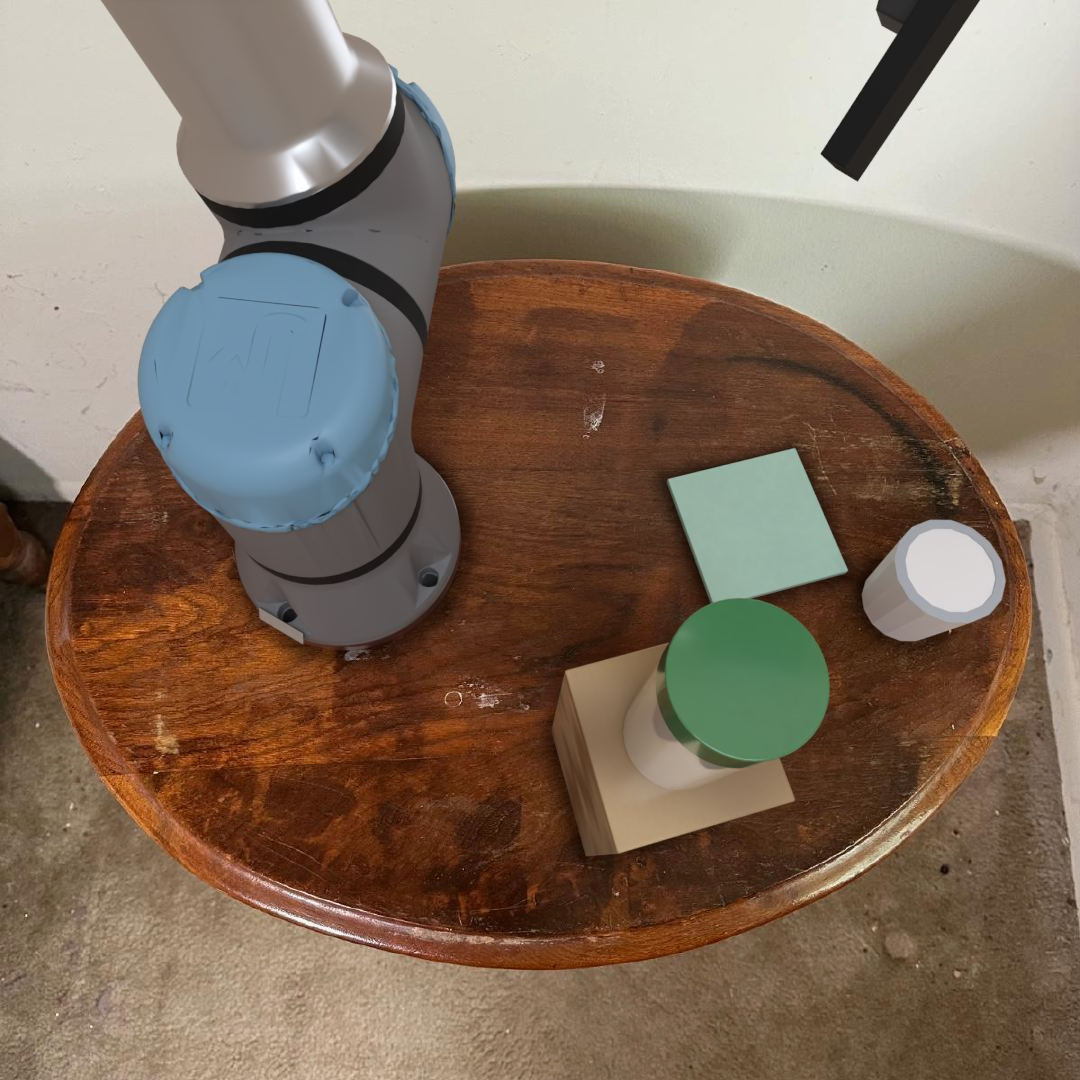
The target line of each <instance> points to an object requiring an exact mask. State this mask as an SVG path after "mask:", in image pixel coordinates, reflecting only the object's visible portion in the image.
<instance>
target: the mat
mask: <svg viewBox="0 0 1080 1080" xmlns="http://www.w3.org/2000/svg"><path fill="white" fill-rule="evenodd" d="M666 485H667V488H668V490H669V494H670V496H671V499H672V501H673V505H674V507H675V510H676V512H677V515H678V519H679V520H680V523H681V526H682V529H683V532H684V535H685V537H686V541H687V543H688V545H689V548H690V551H691V554H692V557H693V559H694V562H695V565H696V568H697V571H698V573H699V576H700V579H701V582H702V584H703V587H704V589H705V592H706V596H707V597H708V600H709V604H711V603H714V602H716V601H720V600H725V599H731V598H747V599H755V598H759V597H762V596H766V595H770V594H774V593H776V592H777V593H778V592H781V591H785V590H789V589H792V588H797V587H800V586H803V585H807V584H812V583H816V582H819V581H823V580H826V579H830V578H835V577H837V576H842V575H845V574H846V573H848V572H849V569H848V567H847V565H846V562H845V560H844V558H843V556H842V553H841V551H840V548H839V546H838V543H837V541H836V538H835V537H834V534H833V533H832V530H831V528H830V525H829V523H828V520H827V518H826V516H825V515H824V514H825V513H824V511H823V509H822V506H821V504H820V503H819V500H818V498H817V495H816V494H815V491H814V488H813V486H812V483H811V481H810V478H809V477H808V474H807V472H806V470H805V468H804V464H803V463H802V461H801V458H800V456H799V454H798V451H797V449H796V447H793V448H790V449H785V450H782V451H777V452H772V453H769V454H765V455H760V456H757V457H753V458H749V459H744V460H741V461H736V462H732V463H729V464H724V465H720V466H715V467H712V468H708V469H704V470H699V471H696V472H691V473H686V474H683V475H679V476H674V477H670V478H667V480H666Z"/></svg>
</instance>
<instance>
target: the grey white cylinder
mask: <svg viewBox="0 0 1080 1080" xmlns="http://www.w3.org/2000/svg"><path fill="white" fill-rule="evenodd" d="M1002 561H1003V560H1002V559H1001V558H1000V556H999V553H998V552H997V551H996V550H995V547H994V546H993V545H992V543H991V542H990V541H989V540H988V539H986V538H985V537H984V536H983V535H982V534H981V533H979V532H978V531H976V529H974V528H973V527H972V526H969V525H966V524H963V523H961V522H958V521H955V520H952V519H929V520H926V521H923V522H921V523H918V524H916V525H914V526H913V525H912V526H911V527H910V529H908V530H907V532H906V533H905V534H904V535H903V536H902V537H901V539H900V540H898V542H897V543H896V544H895V545H894V546H893V548H892V549H891V550H890V551H889V552H888V554H887V555H886V556H885V557H884V558H883V559H882V561H880V563H879V564H878V565H877V567H876V568H874V570H873V571H872V573H871V574H869V576H868V577H867V579H865V582H864V585H863V589H862V592H861V598H862V606H863V607H862V608H863V611H864V613H865V614H866V616H867V617H868V619H869V621H870V623H871V625H873V626H874V627H875V629H877V630H878V631H879V632H881V633H882V634H883V635H885V636H886V637H889V638H892V639H894V640H897V641H899V642H918V641H921V640H924V639H926V638H930V637H934V636H936V635H939V634H942V633H944V632H948V631H950V630H953V629H957V628H959V627H962V626H965V625H968V624H971V623H973V622H976V621H978V620H980V619H984V618H985V617H987V616H990V615H991V613H992V612H993V611H995V609H996V607H997V606H998V605H999V604H1000V603H1001V602H1002V600H1003V596H1004V592H1005V591H1004V590H1005V587H1006V582H1007V580H1006V575H1005V570H1004V566H1003V562H1002Z"/></svg>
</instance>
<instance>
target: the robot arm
mask: <svg viewBox="0 0 1080 1080" xmlns="http://www.w3.org/2000/svg"><path fill="white" fill-rule="evenodd" d="M980 1H981V0H878V1H877V3H876V6H875V7H876V8H875V12H876V14H877V17H878V20H879V22H880V23H879V24H880V25H881V27H883V28H885V29H886V30H888V31H890V32H892V33H894V34H896V35H895V36H894V38H893V40H892V41H891V43H890V44H889V46H888V48H887V49H886V51H885V52H884V54H883V56H881V58H880V60H879V62H878V63H877V64H876V66H875V68H874V70H873V71H872V72H871V74H870V75H869V77H868V78H867V80H866V81H865V84H864V85H863V86H862V88H861V90H860V91H859V93H858V94H857V96H856V97H855V99H854V101H853V102H852V104H851V105H850V107H849V109H848V110H847V112H846V113H845V115H844V116H843V117H842V118H841V121H840V122H839V124H838V126H837V127H836V128H835V130H834V132H833V133H832V135H831V136H830V138H829V139H828V141H827V143H826V144H825V145H824V147H823V149H822V151H821V152H820V155H821V157H823V158H824V159H825V160H826V161H827V162H828V163H829V164H830V165H831V166H832V167H833V168H834V169H836V170H837V171H839V172H840V173H842V174H843V175H845V176H847V177H849V178H850V179H852V180H854V181H855V182H857V183H858V182H859V181H860V179H861V177H863V176H864V173H865V171H867V169H868V167H869V166H870V164H871V163H872V161H873V160H874V158H875V157H876V155H877V154H878V152H879V151H880V149H881V148H882V147H883V145H884V143H885V142H886V141H887V139H888V138H889V136H890V135H891V133H892V131H893V130H894V129H895V127H896V126H897V124H898V123H899V121H900V120H901V118H902V117H903V115H904V114H905V112H906V111H907V110H908V108H909V107H910V105H911V104H912V102H913V101H914V99H915V98H916V96H917V95H918V94H919V91H920V90H921V89H922V87H923V86H924V84H925V83H926V82H927V80H928V78H929V77H930V75H931V74H932V73H933V71H934V70H935V68H936V66H937V65H938V64H939V62H940V61H941V59H942V57H943V56H944V54H945V53H946V52H947V51H948V49H949V47H950V45H951V44H952V43H953V41H954V40H955V38H956V37H957V35H958V34H959V32H960V31H961V29H962V28H963V27H964V25H965V24H966V22H967V21H968V19H969V17H970V16H971V15H972V13H973V12H974V10H975V9H976V7H977V6H978V4H979V3H980ZM100 2H101V3H102V4H103V6H104V7H105V9H106V10H107V12H108V13H109V15H110V16H111V17H112V19H113V20H114V22H115V23H116V25H117V26H118V28H119V29H120V30H121V32H122V33H123V34H124V36H125V38H126V39H127V41H128V42H129V43H130V45H131V46H132V48H133V49H134V50H135V52H136V54H137V55H138V57H139V58H140V59H141V61H142V62H143V64H144V65H145V67H146V68H147V69H148V71H149V72H150V74H151V75H152V77H153V78H154V79H155V81H156V82H157V84H158V86H159V87H160V89H161V90H162V91H163V92H164V94H165V96H166V97H167V98H168V101H169V102H170V103H171V104H172V106H173V107H174V109H175V110H176V112H177V113H178V115H179V116H180V117H181V120H180V122H179V127H178V130H177V133H176V142H175V143H176V145H175V146H176V147H175V149H176V156H177V161H178V166H179V167H180V169H181V171H182V173H183V175H184V177H185V178H186V180H187V181H188V183H189V185H191V187H192V188H193V189H194V191H195V192H196V193H197V194H198V196H199V197H200V198H201V200H202V201H203V203H204V205H206V207H207V209H208V210H209V211H210V212H211V214H212V215H213V217H214V218H215V219H216V220H217V222H218V224H219V225H220V227H221V229H222V233H223V243H222V247H221V251H220V254H219V257H218V260H217V262H216V263H214V264H212V265H210V266H209V267H207V268H205V269H204V270H201V272H200V273H199V277H200V281H201V282H199V283H198V284H197V285H195V286H193V287H192V288H188V287H185V286H180V287H178V289H176V290H175V291H174V292H173V293H172V295H170V296H169V297H168V298H167V300H166V301H165V303H163V305H162V306H161V308H160V310H158V312H157V314H156V316H154V319H153V321H152V322H151V323H150V326H149V328H148V331H147V333H146V335H145V338H144V341H143V344H142V347H141V351H140V355H139V361H138V365H137V366H138V368H137V393H138V394H137V395H138V402H139V407H140V411H141V415H142V418H143V422H144V424H145V426H146V427H145V428H146V430H147V432H148V433H149V435H150V437H151V440H152V441H153V443H154V445H155V446H156V448H157V450H158V451H159V452H160V454H161V458H162V459H163V462H165V465H167V468H168V469H170V472H171V474H172V477H173V478H174V479H175V481H176V482H177V483H178V484H179V485H180V487H181V488H182V489H183V490H184V491H185V492H186V494H187V495H189V497H190V498H191V499H192V500H193V501H194V502H195V503H196V504H197V505H198V506H200V507H201V508H202V509H204V510H206V511H207V512H209V513H210V515H212V516H213V517H214V518H215V519H216V521H217V522H218V523H219V524H220V525H221V526H222V528H223V529H224V530H225V531H226V532H227V533H228V534H229V536H231V538H232V539H233V540H234V555H235V563H236V568H237V572H238V575H239V579H240V582H241V584H242V586H243V588H244V591H245V593H246V594H247V596H248V599H249V600H250V602H251V603H252V604H253V605H254V606H255V608H256V609H257V610H258V614H259V615H258V617H259V620H261V621H262V622H265V624H268V625H269V626H271V627H273V628H275V629H276V630H278V631H280V632H281V633H283V634H285V635H286V636H288V637H289V638H292V639H293V640H294V641H296V642H298V643H299V644H302V645H304V644H305V645H308V646H311V647H315V648H318V649H324V650H331V651H356V650H365V649H369V648H374V647H377V646H381V645H385V644H387V643H389V642H391V641H394V640H396V639H398V638H400V637H402V636H404V635H406V634H407V633H409V632H410V631H412V630H414V629H415V628H416V627H417V626H419V625H420V624H422V623H423V622H424V621H425V620H426V619H427V618H428V617H429V616H430V615H431V614H433V612H434V611H435V610H436V609H437V607H438V606H439V605H440V604H441V603H442V601H443V600H444V598H445V597H446V595H447V594H448V592H449V590H450V589H451V586H452V584H453V582H454V579H455V578H456V575H457V572H458V568H459V565H460V560H461V554H462V529H461V523H460V518H459V512H458V508H457V506H456V502H455V499H454V497H453V495H452V493H451V491H450V489H449V487H448V485H447V484H446V482H445V481H444V480H443V478H442V477H441V475H440V474H439V472H437V471H436V470H435V468H434V467H433V466H432V465H431V464H430V463H429V462H427V460H425V459H424V458H423V457H422V456H420V455H419V454H417V453H416V451H415V447H414V443H413V440H412V425H413V423H412V422H413V416H414V415H413V414H414V409H415V403H416V398H417V393H418V388H419V381H420V376H421V370H422V365H423V360H424V355H425V354H424V353H425V349H426V343H427V340H428V333H429V328H430V323H431V318H432V314H433V308H434V302H435V299H436V297H435V296H436V293H437V287H438V283H439V277H440V271H441V266H442V261H443V256H444V250H445V245H446V241H447V239H448V236H449V233H450V229H451V227H452V223H453V220H454V216H455V209H456V202H455V199H456V198H457V187H456V186H457V185H456V173H457V172H456V171H457V170H456V156H455V151H454V146H453V142H452V139H451V136H450V133H449V130H448V126H447V125H446V122H445V121H444V118H443V117H442V115H441V113H440V112H439V110H438V109H437V107H436V106H435V105H436V104H434V103H433V101H432V99H431V98H430V97H429V96H428V95H427V94H426V92H425V91H424V90H423V89H422V87H421V86H419V85H418V84H417V83H416V82H414V81H412V82H411V81H410V82H409V83H406V82H405V81H403V80H402V79H401V78H400V77H399V70H398V68H396V67H394V66H393V65H392V64H390V63H389V62H388V61H387V59H386V58H385V56H384V54H382V52H381V51H380V50H379V49H378V48H377V47H376V46H374V45H373V44H372V43H370V42H369V41H367V40H365V39H363V38H361V37H359V36H356V35H354V34H350V33H347V32H344V31H342V29H341V26H340V25H339V22H338V19H337V17H336V15H335V13H334V10H333V8H332V6H331V4H330V1H329V0H100Z"/></svg>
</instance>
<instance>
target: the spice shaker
mask: <svg viewBox="0 0 1080 1080" xmlns="http://www.w3.org/2000/svg"><path fill="white" fill-rule="evenodd" d="M667 643H668V645H667V647H666V648H665V650H664V651H663V654H662V656H661V658H660V661H659V663H658V665H657V666H656V667H655V669H654V670H653V672H652V673H651V675H650V676H649V678H648V679H647V680H646V682H645V683H644V685H643V686H642V688H641V689H640V691H639V692H638V693H637V695H636V696H635V698H634V699H633V701H632V702H631V704H630V706H629V708H628V710H627V712H626V715H625V719H624V725H623V737H624V744H625V748H626V751H627V753H628V756H629V758H630V760H631V762H632V763H633V765H634V766H635V767H636V769H637V770H638V771H639V772H640V773H641V774H642V775H643V776H644V777H645V778H646V779H648V780H649V781H651V782H652V783H654V784H656V785H658V786H660V787H663V788H666V789H670V790H677V791H685V790H692V789H697V788H699V787H702V786H704V785H707V784H709V783H712V782H714V781H717V780H719V779H721V778H724V777H726V776H729V775H731V774H733V773H736V772H738V771H741V770H743V769H746V768H752V767H756V766H761V765H763V764H766V763H769V762H771V761H774V760H776V759H779V758H780V759H781V758H784V757H786V756H789V755H790V754H792V753H794V752H796V751H798V750H799V749H800V748H802V747H803V746H804V745H805V744H806V743H808V741H809V740H810V739H812V737H813V736H814V735H815V734H816V732H817V730H818V729H819V728H820V726H821V724H822V722H823V720H824V718H825V715H826V713H827V710H828V706H829V700H830V692H831V691H830V689H831V684H830V683H831V682H830V675H829V669H828V665H827V663H826V659H825V656H824V654H823V652H822V650H821V647H820V645H819V643H817V640H816V639H815V637H814V635H812V634H811V633H810V631H809V630H808V628H807V627H806V626H805V625H804V624H802V623H801V621H799V620H798V619H797V618H796V617H794V616H793V615H792V614H790V613H789V612H788V611H786V610H784V609H783V608H781V607H779V606H776V605H774V604H772V603H769V602H765V601H763V600H759V599H755V598H751V599H747V598H731V599H725V600H720V601H716V602H714V603H709V604H706V605H704V606H702V607H700V608H699V609H697V610H696V611H694V612H693V613H691V614H690V615H689V616H688V617H687V618H686V619H685V620H683V622H682V623H681V625H679V627H678V628H677V629H676V631H675V632H674V634H673V636H672V637H671V639H670V641H669V642H667Z"/></svg>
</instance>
